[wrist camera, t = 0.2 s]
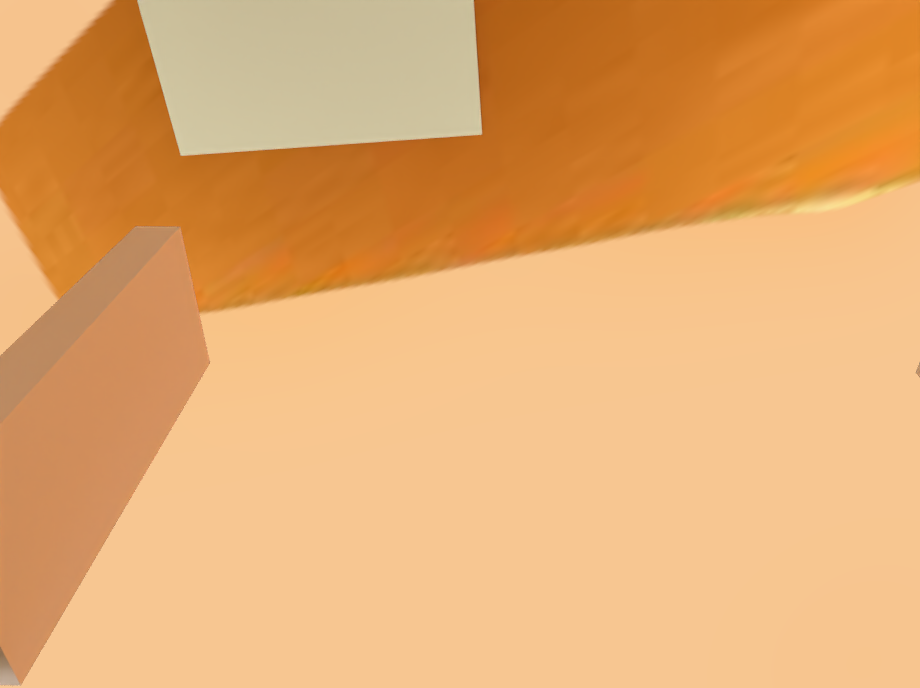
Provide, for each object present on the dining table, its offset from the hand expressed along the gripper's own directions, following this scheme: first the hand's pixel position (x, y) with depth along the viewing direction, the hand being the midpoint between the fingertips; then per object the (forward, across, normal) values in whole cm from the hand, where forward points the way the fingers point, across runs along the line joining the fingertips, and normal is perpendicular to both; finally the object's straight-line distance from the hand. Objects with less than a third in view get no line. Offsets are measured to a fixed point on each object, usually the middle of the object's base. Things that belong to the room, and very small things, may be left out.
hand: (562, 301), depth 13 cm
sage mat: (+27, -10, +1) cm, 29 cm away
